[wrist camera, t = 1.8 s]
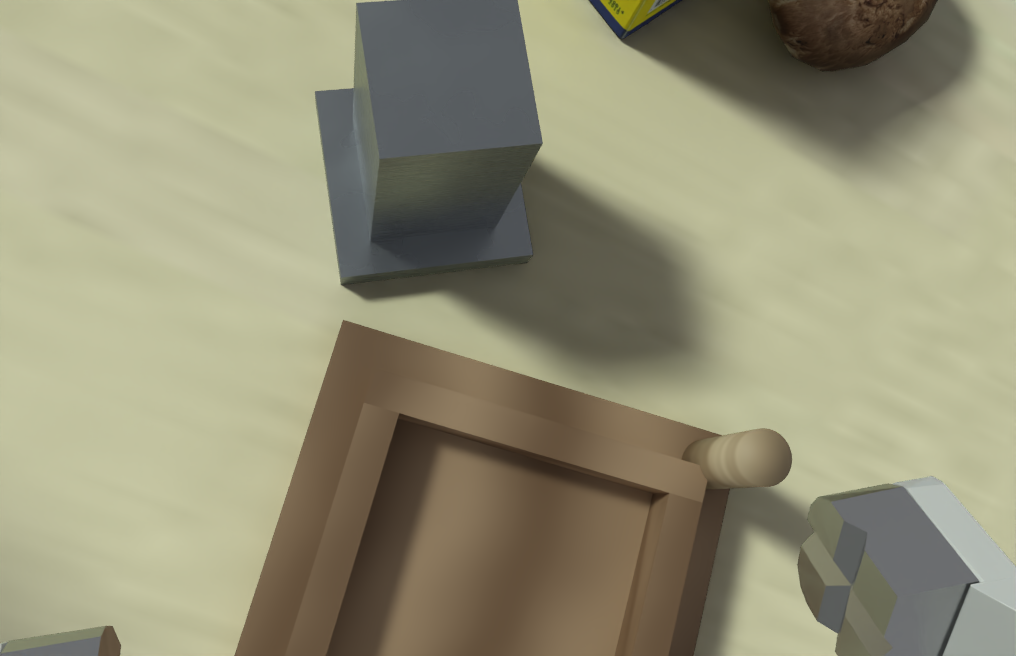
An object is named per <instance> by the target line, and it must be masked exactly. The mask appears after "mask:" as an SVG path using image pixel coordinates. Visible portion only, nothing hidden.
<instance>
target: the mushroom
mask: <svg viewBox="0 0 1016 656" xmlns="http://www.w3.org/2000/svg"><path fill="white" fill-rule="evenodd" d="M768 1H769V6H770V11H771V16H772V21H773V26H774V28H775V30H776V32H777V33H778V35H779V37H780V38H781V40H782V41H783V43H784V44H785V46H786V47H787V49H788V51H789V52H790V54H791V55H792V57H794V58H796V59H798V60H800V61H802V62H804V63H806V64H808V65H810V66H813V67H815V68H817V69H819V70H821V71H836V70H842V69H848V68H853V67H859V66H863V65H867V64H869V63H871V62H873V61H875V60H877V59H878V58H880V57H881V56H883V55H885V54H886V53H888V52H889V51H891V50H893V49H894V48H896V47H898V46H899V45H901V44H902V43H904V42H906V41H907V40H908V39H909V38H910V37H911V36H912V35H913V34H914V33H915V32H916V31H917V30H918V29H919V28H920V27H921V26H922V25H923V24H924V23H925V22H926V21H927V20H928V19H929V17H930V15H931V13H932V11H933V9H934V6H935V4H936V2H937V0H768Z"/></svg>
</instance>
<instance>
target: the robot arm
mask: <svg viewBox="0 0 1016 656" xmlns="http://www.w3.org/2000/svg"><path fill="white" fill-rule="evenodd" d="M807 520H808V522H809V523H810V525H811V527H812V528H813V530H814V533H813V534H812V535H811V536H810V537H809V538H808V539H807V540H806V541H805V542H804V543H803V544H802V545H801V548H800V554H799V559H798V572H799V579H800V586H801V589H802V592H803V594H804V597H805V600H806V602H807V604H808V606H809V608H810V610H811V611H812V613H813V615H814V617H815V618H816V620H817V621H818V622H820V623H821V624H823V625H825V626H826V627H828V628H830V629H831V630H833V631H834V632H836V633H838V635H837V642H836V649H835V652H836V654H837V655H838V656H1016V566H1015V565H1014V564H1013V563H1012V561H1011V560H1010V559H1009V558H1008V557H1007V556H1006V554H1005V553H1004V552H1003V551H1002V550H1001V549H1000V547H999V546H998V545H997V544H996V543H995V542H994V541H993V539H992V538H991V537H990V536H989V535H988V534H987V532H986V531H985V530H984V529H983V528H982V527H981V525H980V524H979V523H978V522H977V521H976V520H975V518H974V517H973V516H972V515H971V514H970V513H969V512H968V510H967V509H966V508H965V507H964V506H963V505H962V503H961V502H960V501H959V500H958V499H957V498H956V496H955V495H954V494H953V493H952V492H951V491H950V490H949V488H948V487H947V486H946V485H945V484H944V483H943V482H942V481H941V480H939V479H937V478H935V477H933V476H930V477H925V478H919V479H914V480H908V481H902V482H897V483H893V484H883V485H878V486H872V487H867V488H862V489H857V490H852V491H846V492H841V493H836V494H831V495H826V496H821V497H818V498H817V499H816V500H815V501H814V502H813V503H812V504H811V507H810V511H809V514H808V518H807ZM120 649H121V644H120V642H119V640H118V638H117V635H116V633H115V631H114V629H113V626H103V627H96V628H90V629H83V630H77V631H70V632H64V633H57V634H51V635H44V636H38V637H31V638H25V639H18V640H12V641H8V642H2V643H0V656H120Z"/></svg>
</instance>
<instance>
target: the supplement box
mask: <svg viewBox="0 0 1016 656" xmlns="http://www.w3.org/2000/svg"><path fill="white" fill-rule="evenodd" d="M590 1H591V3H592V4H593V5H594V7H595V8H596V9H597V10H598V12H599V13H600V14H601V15H602V17H603V18H604V19H605V21H606V22H607V23H608V25H609V26H610V27H611V28H612V29H613V31H614V32H615V33H616V34H617V35H618V37H619V38H621V39H624V38H626V37H627V36H629V35H630V34H632V33H633V32H635V31H636V30H638V29H639V28H641V27H642V26H644V25H646V24H648V23H649V22H650V21H651V20H653V19H654V18H656V17H658V16H659V15H660V14H662V13H663V12H665V11H666V10H668V9H669V8H671V7H672V6H674V5H675V4H677V3H679V2H680V1H682V0H590Z"/></svg>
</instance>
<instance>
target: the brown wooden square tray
mask: <svg viewBox="0 0 1016 656" xmlns="http://www.w3.org/2000/svg"><path fill="white" fill-rule="evenodd" d="M791 464H792V454H791V450H790V447H789V445H788V443H787V442H786V440H785V439H784V438H783V437H782V436H781V435H780V434H779V433H777V432H775V431H773V430H770V429H765V428H762V429H755V430H750V431H744V432H739V433H734V434H728V435H723V436H722V435H719V434H716V433H712V432H709V431H706V430H703V429H699V428H696V427H693V426H689V425H686V424H683V423H680V422H676V421H673V420H670V419H666V418H663V417H660V416H657V415H653V414H650V413H647V412H643V411H640V410H637V409H634V408H630V407H627V406H624V405H621V404H617V403H614V402H611V401H607V400H604V399H601V398H598V397H594V396H591V395H588V394H584V393H581V392H578V391H575V390H571V389H568V388H565V387H561V386H558V385H555V384H552V383H548V382H545V381H542V380H538V379H535V378H532V377H529V376H525V375H522V374H519V373H516V372H512V371H509V370H506V369H502V368H499V367H496V366H493V365H489V364H486V363H483V362H479V361H476V360H473V359H470V358H466V357H463V356H460V355H456V354H453V353H450V352H447V351H443V350H440V349H437V348H433V347H430V346H427V345H424V344H420V343H417V342H414V341H411V340H407V339H404V338H401V337H397V336H394V335H391V334H388V333H384V332H381V331H378V330H374V329H371V328H368V327H365V326H361V325H358V324H355V323H351V322H348V321H345V320H343V322H342V325H341V328H340V331H339V334H338V338H337V341H336V344H335V347H334V350H333V353H332V356H331V359H330V362H329V365H328V368H327V372H326V375H325V378H324V381H323V384H322V387H321V390H320V393H319V396H318V399H317V402H316V405H315V409H314V412H313V415H312V418H311V421H310V424H309V427H308V430H307V433H306V436H305V439H304V443H303V446H302V449H301V452H300V455H299V458H298V461H297V464H296V467H295V470H294V473H293V477H292V480H291V483H290V486H289V489H288V492H287V495H286V498H285V501H284V504H283V507H282V511H281V514H280V517H279V520H278V523H277V526H276V529H275V532H274V535H273V538H272V541H271V545H270V548H269V551H268V554H267V557H266V560H265V563H264V566H263V569H262V572H261V575H260V579H259V582H258V585H257V588H256V591H255V594H254V597H253V600H252V603H251V606H250V609H249V613H248V616H247V619H246V622H245V625H244V628H243V631H242V634H241V637H240V640H239V643H238V647H237V650H236V653H235V656H693V655H694V650H695V646H696V641H697V637H698V632H699V627H700V623H701V618H702V614H703V609H704V604H705V600H706V595H707V591H708V586H709V581H710V577H711V572H712V568H713V563H714V559H715V554H716V549H717V545H718V540H719V536H720V531H721V526H722V522H723V517H724V513H725V508H726V503H727V499H728V494H729V490H730V488H750V487H770V486H774V485H777V484H779V483H780V482H782V481H783V480H784V479H785V478H786V476H787V475H788V473H789V471H790V468H791Z"/></svg>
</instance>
